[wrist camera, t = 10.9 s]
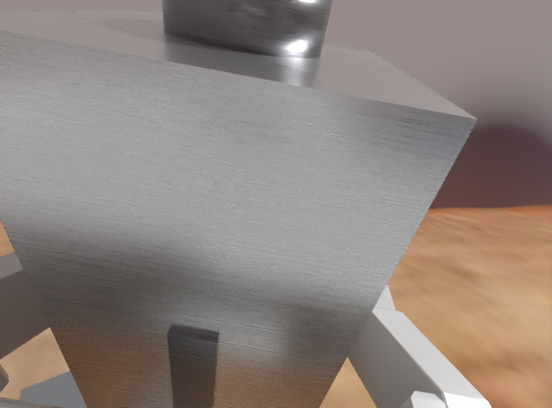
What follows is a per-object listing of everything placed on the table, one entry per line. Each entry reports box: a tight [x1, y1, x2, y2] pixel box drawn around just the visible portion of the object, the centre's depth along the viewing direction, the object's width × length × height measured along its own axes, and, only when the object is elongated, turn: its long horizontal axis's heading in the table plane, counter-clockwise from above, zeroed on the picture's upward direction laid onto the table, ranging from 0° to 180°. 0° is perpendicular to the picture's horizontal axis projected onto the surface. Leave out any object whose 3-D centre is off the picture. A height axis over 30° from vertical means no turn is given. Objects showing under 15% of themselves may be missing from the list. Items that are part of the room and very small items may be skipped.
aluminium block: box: [0, 0, 477, 408], centre depth 8 cm, size 5×5×13 cm
